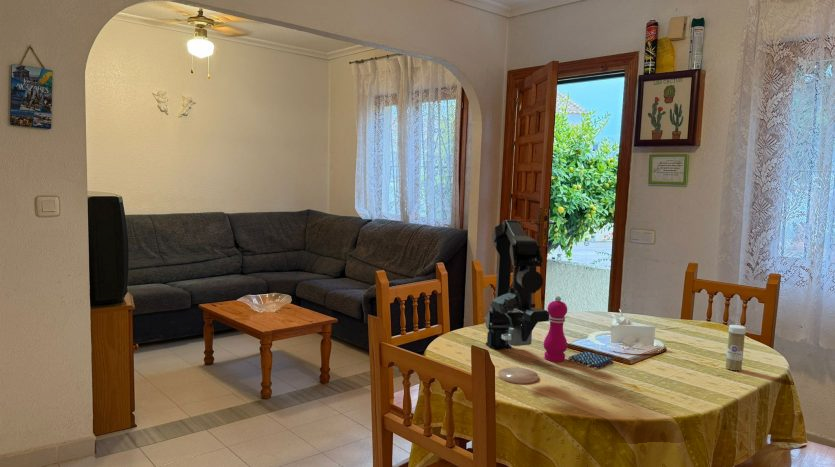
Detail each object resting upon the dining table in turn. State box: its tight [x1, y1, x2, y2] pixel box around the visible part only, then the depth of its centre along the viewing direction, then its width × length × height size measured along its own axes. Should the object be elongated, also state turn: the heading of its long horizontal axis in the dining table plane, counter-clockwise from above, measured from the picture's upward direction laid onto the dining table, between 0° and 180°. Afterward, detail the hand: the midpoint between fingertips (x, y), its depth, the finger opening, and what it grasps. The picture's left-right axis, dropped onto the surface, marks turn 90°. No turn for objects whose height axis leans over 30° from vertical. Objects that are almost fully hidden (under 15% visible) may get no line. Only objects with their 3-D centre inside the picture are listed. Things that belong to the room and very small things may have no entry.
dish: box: [587, 308, 665, 351], centre depth 204 cm, size 25×25×11 cm
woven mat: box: [567, 350, 614, 370], centre depth 184 cm, size 10×11×2 cm
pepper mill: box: [543, 295, 568, 363], centre depth 185 cm, size 7×7×20 cm
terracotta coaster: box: [498, 367, 539, 385], centre depth 169 cm, size 11×11×1 cm
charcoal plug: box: [501, 325, 533, 347], centre depth 167 cm, size 9×4×4 cm, turn 114°
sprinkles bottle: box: [725, 324, 747, 371], centre depth 180 cm, size 5×5×13 cm
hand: (520, 339), depth 167 cm, fingers closed on charcoal plug, 4 cm apart
